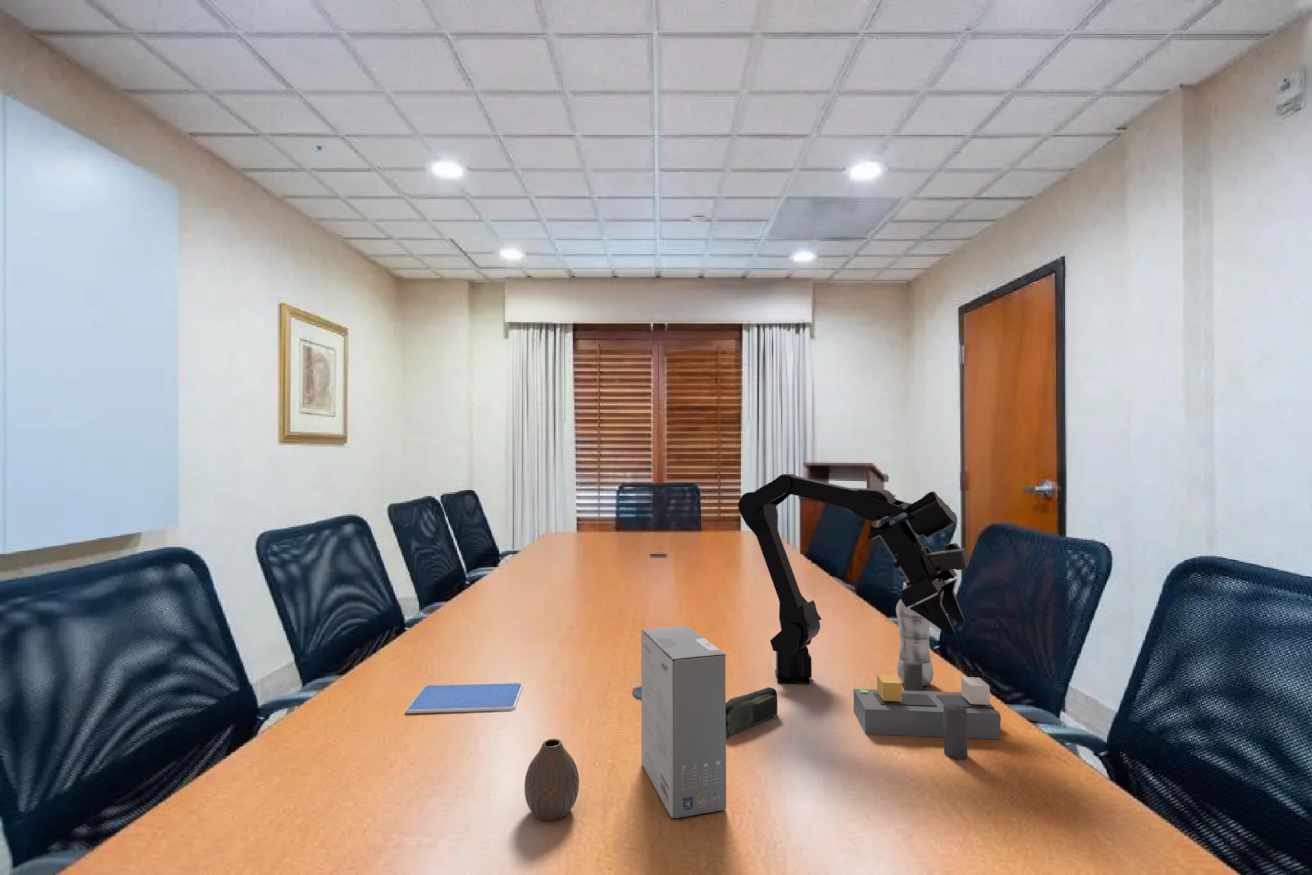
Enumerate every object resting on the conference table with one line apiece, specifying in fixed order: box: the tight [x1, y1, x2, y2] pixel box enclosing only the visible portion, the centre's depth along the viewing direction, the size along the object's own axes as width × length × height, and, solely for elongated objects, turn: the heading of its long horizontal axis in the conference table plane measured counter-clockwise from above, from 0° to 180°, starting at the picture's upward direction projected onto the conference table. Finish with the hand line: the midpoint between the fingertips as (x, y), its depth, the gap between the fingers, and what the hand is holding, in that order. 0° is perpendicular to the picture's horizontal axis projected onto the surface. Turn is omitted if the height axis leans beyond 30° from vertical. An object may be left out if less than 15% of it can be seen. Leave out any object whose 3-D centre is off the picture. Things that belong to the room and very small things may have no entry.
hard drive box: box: [640, 625, 727, 819], centre depth 86 cm, size 16×8×20 cm, turn 17°
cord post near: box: [943, 704, 969, 761], centre depth 95 cm, size 3×3×7 cm
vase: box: [524, 738, 580, 822], centre depth 80 cm, size 7×7×9 cm
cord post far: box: [903, 660, 924, 691], centre depth 115 cm, size 3×3×7 cm
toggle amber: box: [876, 674, 902, 701], centre depth 106 cm, size 3×4×3 cm
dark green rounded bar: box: [726, 686, 778, 738], centre depth 106 cm, size 5×3×15 cm
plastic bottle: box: [895, 580, 934, 687], centre depth 124 cm, size 6×7×20 cm
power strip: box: [853, 688, 1002, 740], centre depth 105 cm, size 23×9×4 cm, turn 84°
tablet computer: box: [405, 682, 524, 714], centre depth 117 cm, size 19×13×1 cm, turn 95°
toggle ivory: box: [960, 676, 991, 705], centre depth 104 cm, size 3×4×3 cm
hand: (957, 628), depth 110 cm, fingers open, 9 cm apart
